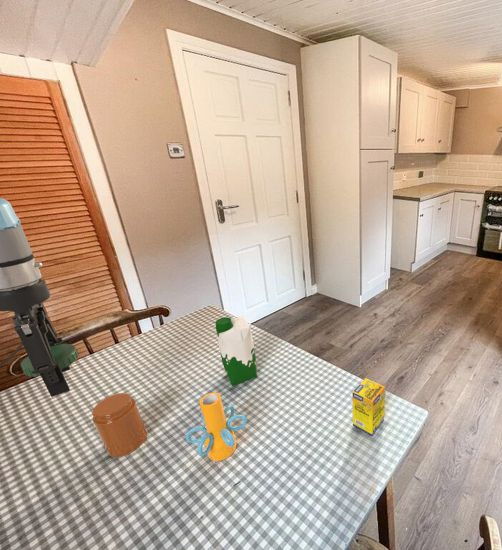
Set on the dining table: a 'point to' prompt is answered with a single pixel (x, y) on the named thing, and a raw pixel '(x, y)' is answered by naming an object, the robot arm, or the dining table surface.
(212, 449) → the orange vase
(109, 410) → the jar
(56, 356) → the jar lid
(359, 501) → the dining table surface
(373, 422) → the supplement box
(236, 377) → the milk carton
